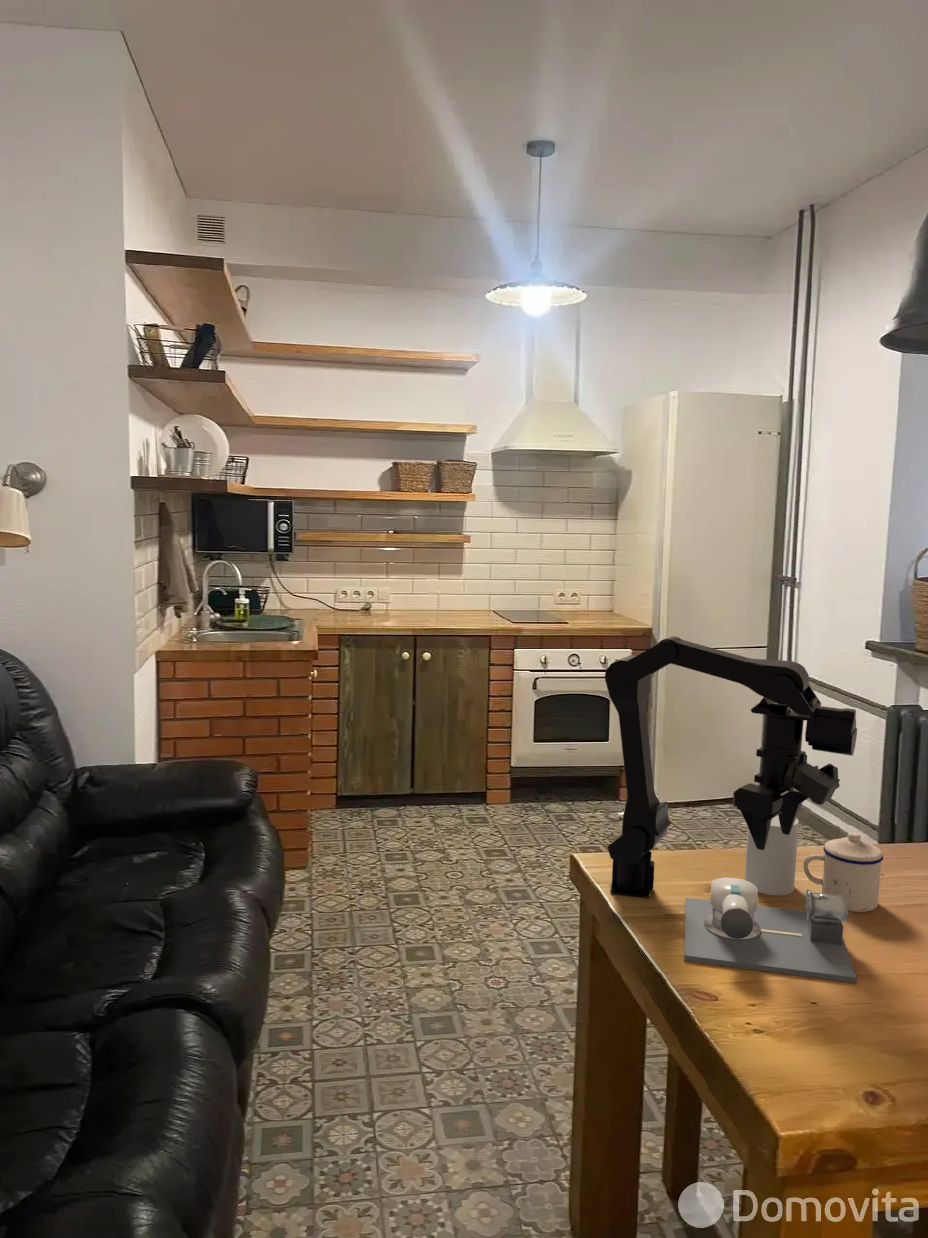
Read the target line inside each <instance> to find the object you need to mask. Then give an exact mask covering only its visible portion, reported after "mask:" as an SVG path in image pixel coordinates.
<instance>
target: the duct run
mask: <svg viewBox="0 0 928 1238" xmlns="http://www.w3.org/2000/svg"><path fill="white" fill-rule="evenodd" d="M804 900H805V902H804V904H805V905H804V908H805V909H804V911H805V913H806V919H807V920H808V935H809V939H810V941H811V942H819V943H827V944H835V945H842V937H843V934H844V933H843V932H844V926H843V925H844V924H843V922H847V921H848V918H849V911H848V899H847V896H839V895H830V894H822V892H821V893H820V892H819V893H818V892H811V889H806V891H805V899H804Z"/></svg>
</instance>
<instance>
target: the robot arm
mask: <svg viewBox="0 0 928 1238" xmlns="http://www.w3.org/2000/svg"><path fill="white" fill-rule="evenodd" d="M671 664H672V665H675V666H678V667H682V668H686V669H688V670H692V671H696V672H700V673H703V674H706V675H709V676H713V677H716V678H719V679H724V680H727V681H730V682H734V683H738V684H740V685H741V686H744V687H746V688H748V689H749V690H751V691H753V692H754V693H755V694H757V695H759V696H761V697H763V698H761V700H760V701H759V703H757V704H755V705H754V706H753V707H752V708H751V709H750V712H751V713H753V714H759V715H763V717H764V719H763V727H762V728H763V731H762V741H761V742H762V743H761V747H760V748H758V749H756V753H755V756H756V757H759V758H760V764H759V765H760V766H759V767H760V768H759V773H757V774H755V775H754V779H753V781H754V783H759V784H761V785H759V784H754V783H750V782H749V783H747V784H744V785H742V786H740V787H739V788H737V789H736V790H735V791H733V793H732V794H733V795H732V797H733V798H732V805H733V806H734V807H736V809H737V810H739V811H740V813H741V815H742V817H743V819H744V821H745V823H746V826H747V829H748V828H749V830H750V833H751V835H752V838H753V840H754V843H755V845H756V848H757V849H760V850H764V849H765V846H766V842H767V838H768V833H769V829H770V825H771V820H772V819H773V818H774V817H776V816H777V815H778V816H779V822H780V826H781V830H782V833H783V834H786V835H789V834H790V832H791V830H792V827H793V825H794V822H795V820H796V818H797V817H798V815H799V812H800V809H801V807H802V804H803V803H804V802H805V801H806V800H808V799H810V801H811V802H813V803H814V804H816V805H818V806H819V805H820V806H823V805H824V804H825V803H826V802H829V801H831V799H832V797H833V795H834V793H835V792H836V790H837V789H838V788H840V786H841V785H840V781H841V779H840V778H839V768H838V767H837V766H835V765H834V764H832V763H828V764H826V765H823V766H822V767H821V768H819V766H818V765H815V766H813V765H812V764H810V763H808V754H806V753H807V752H806V751H805V750H802V745H803V744H802V743H803V733H804V722H805V721H806V725H805V733H804V734H805V735H804V737H805V738H804V739H805V742H806V743H807V745H808V746H810V747H811V749H812V750H813V751H820V752H825V753H831V754H840V755H844V756H851V757H852V756H853V755H854V753H855V749H856V743H857V742H856V741H857V736H858V728H857V717H856V715H857V710H856V709H854V708H836V707H830V706H824V705H823V706H822V702H821V701H820V699H819V698H818V696H817V695H816V693H815V692H814V690H813V688H812V686H810V680H811V679H810V676H809V673H808V671H807V670H806V668H805V666H804V665H802V664H801V663H799V662H796V661H792V660H791V661H790V660H780V659H771V658H770V659H768V658H767V659H765V658H764V659H762V658H750V657H746V656H741V655H738V654H734V653H730V652H728V651H724V650H720V649H717V648H714V647H711V646H710V647H709V646H708V645H707V646H706V645H702V644H698V643H695V642H692V641H688V640H684V639H682V638H680V637H679V636H668V637H666V638H664V639H661V640H659V641H658V642H657V644H655V645H653V646H652V647H650V648H648V649H646V650H645V651H643V652H641V653H640V654H638V655H633V654H632V655H628V656H625V657H623V658H620V659H618V660H615V661H614V662H612V663H611V664H610V665H609V666H608V667H607V668H606V669H605V674H604V681H605V684H606V688H607V692H608V695H609V699H610V701H611V704H613V705H614V708H615V710H616V711H617V714H618V722H619V729H620V740H621V752H622V758H623V759H622V760H623V768H624V777H625V779H624V780H625V787H626V795H627V796H626V801H625V805H624V806H625V807H624V811H623V815H622V825H621V826H622V829H621V834H620V835H619V836H618V837H617V838H615V840H613V841H611V843H610V844H609V845H608V846H607V851H608V853H609V857H610V859H612V865H611V866H612V869H611V870H612V872H611V873H612V874H611V884H610V887H609V888H610V889H609V892H610V893H611V894H615V895H616V894H617V895H624V896H625V895H626V896H634V897H643V898H649V897H650V895H651V891H652V890H654V885H655V884H654V883H655V865H656V864H655V861H654V860H652V851H651V850H653V849H654V848H655V846H656V845H658V843H660V842H661V841H662V840H663V838H664V837H666V835H667V831H668V828H669V826H670V825H672V823H671V821H670V819H669V814H668V813H669V812H668V811H669V803H668V801H662V802H660V800H659V799H658V797H657V795H656V791H655V786H654V775H653V768H652V767H653V765H652V759H651V757H652V756H651V747H650V738H649V737H650V735H649V727H648V719H647V705H648V701H649V697H650V691H651V681H652V675H654V674H655V673H656V672H658V671H660V670H662V669H663V668H665V667H667V666H668V665H671Z"/></svg>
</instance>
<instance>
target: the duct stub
mask: <svg viewBox="0 0 928 1238" xmlns="http://www.w3.org/2000/svg"><path fill="white" fill-rule="evenodd" d="M722 915H723V912H720V911H718V910H716V909H714V908H713V912H712V915H709V916H707V917H706V918H705V919H704V926H705V928H706V929H707V930H708V931H709V932H711V933H712V934H714V935H717V936H719V937H722V938H726V939H731V940H750V939H754V938H756V937H758V936H759V935H760V933H761V927H760V926H759V925H758V924H757V923H756V922H755V921H753V929H752V932H751V933H750V934H749V935H748V936H747V937H745V938H742V939H735V938H731V937H729V936H728V935H726V934H725V932H724V931H723V929H722V927H721V917H722ZM750 916H751V918H752V920H753V916H754V913H753V914H750Z"/></svg>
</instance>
